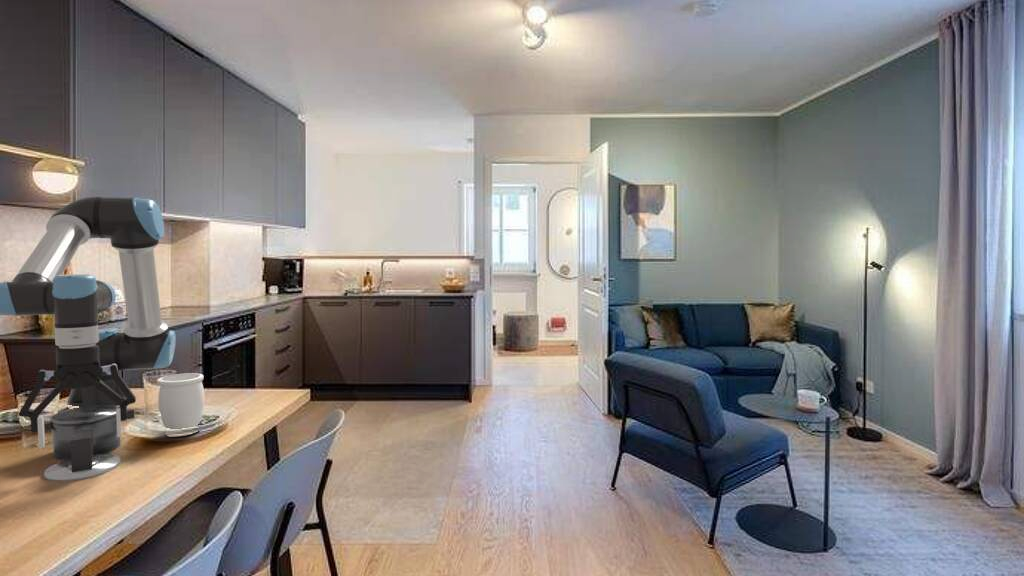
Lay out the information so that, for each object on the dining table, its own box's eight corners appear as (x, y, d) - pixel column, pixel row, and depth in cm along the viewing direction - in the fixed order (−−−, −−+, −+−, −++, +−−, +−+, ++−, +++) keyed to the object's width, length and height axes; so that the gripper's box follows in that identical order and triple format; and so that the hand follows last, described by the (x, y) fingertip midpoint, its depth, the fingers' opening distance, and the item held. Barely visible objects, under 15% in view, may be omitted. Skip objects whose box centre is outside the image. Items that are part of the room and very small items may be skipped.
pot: (41, 448, 137) (39, 411, 136) (135, 434, 147) (134, 400, 146) (32, 466, 125) (30, 427, 125) (135, 450, 136) (133, 413, 135)
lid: (48, 465, 126) (46, 431, 126) (121, 454, 134) (119, 421, 133) (40, 487, 115) (38, 449, 115) (119, 473, 123) (118, 437, 122)
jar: (184, 441, 143) (182, 382, 142) (149, 437, 145) (147, 380, 144) (214, 427, 153) (212, 373, 152) (181, 425, 155) (179, 371, 154)
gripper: (-3, 353, 113) (3, 457, 114) (146, 343, 126) (149, 435, 128) (4, 347, 119) (10, 446, 120) (145, 338, 133) (148, 426, 134)
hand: (81, 440), depth 124 cm, fingers open, 13 cm apart
